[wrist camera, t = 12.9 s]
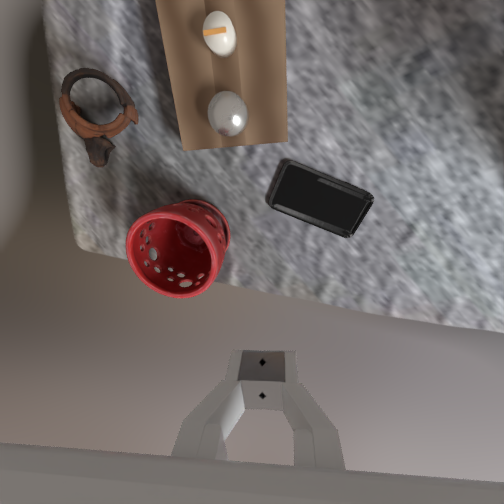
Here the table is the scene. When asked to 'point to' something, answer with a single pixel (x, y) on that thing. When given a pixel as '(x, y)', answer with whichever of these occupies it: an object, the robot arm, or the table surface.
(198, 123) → the mount
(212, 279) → the plant pot
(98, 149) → the brown open round fixture
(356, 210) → the phone
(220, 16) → the dial
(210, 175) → the table surface
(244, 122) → the silver knob
